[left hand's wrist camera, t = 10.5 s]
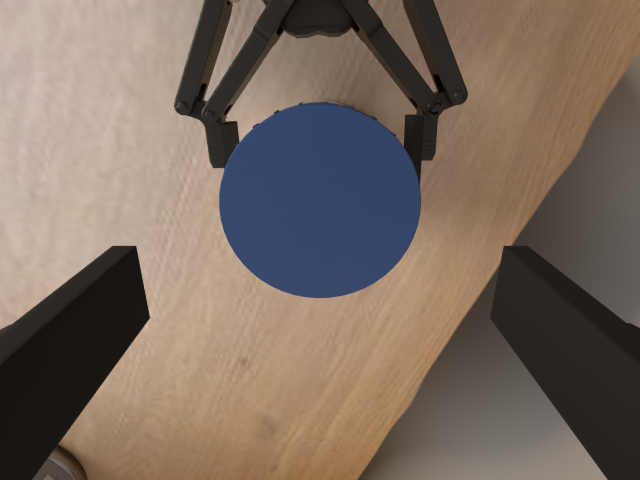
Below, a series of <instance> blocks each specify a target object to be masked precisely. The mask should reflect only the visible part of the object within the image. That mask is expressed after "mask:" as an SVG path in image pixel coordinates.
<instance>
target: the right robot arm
mask: <svg viewBox="0 0 640 480" xmlns="http://www.w3.org/2000/svg"><path fill="white" fill-rule="evenodd" d="M239 1H240V0H205V1H204V4H203V7H202V11H201V14H200V18H199V21H198V24H197V28H196V31H195V34H194V38H193V41H192V45H191V48H190V51H189V55H188V58H187V62H186V65H185V68H184V72H183V75H182V78H181V82H180V85H179V89H178V92H177V95H176V99H175V102H174V107H175V110H176V111H177V113H179V114H180V115H187V116H190V117H193V118H196V119H199V120H200V121H201V122H202V123H203V124H204V126H205V130H206V137H207V144H208V151H209V158H210V163H211V164H212V166H213V168H224V170H225V166H226V165H227V163H228V161H229V158H230V156H231V155H232V153H233V152H234V150H235V148H236V145H237V144H238V143H239V135H238V126H237V121H229V122H226V120H225V119H226V118H227V117H226V116H227V114H228V113H229V111H230V110H231V108H232V107H233V105H234V104H235V102H236V101H237V99H238V98H239V96H240V95H241V93H242V92H243V90H244V89H245V87H246V86H247V84H248V83H249V81H250V80H251V78H252V77H253V75H254V74H255V72H256V71H257V69H258V68H259V66H260V65H261V63H262V61H263V60H264V58H265V57H266V55H267V54H268V52H269V51H270V49H271V48H272V47H273V46H274V45H275V43H276V42H277V41H278V39H279V38H280V36H281V35H282V33H283V32H284V31H285V32H287V33H288V34H289V35H291V36H294V37H296V38H308V37H311V36H314V35H317V34H320V35H324V36H328V37H340V36H341V35H342V34H345V33H346V32H348V31H349V30H350V29H351V28H352V29H353V30H354V32H355V33H356V34H357V35H358V37H359V38H360V39H361V40H362V41H363V42H364V43H365V44H366V45H367V47H368V48H369V49H370V50H371V52H372V53H373V54H374V56H375V57H376V58H377V60H378V61H379V62H380V63H381V65H382V66H383V67H384V69H385V70H386V71H387V72H388V74H389V75H390V76H391V78H392V79H393V80H394V81H395V83H396V84H397V85H398V87H399V88H400V89H401V90H402V92H403V93H404V94H405V96H406V97H407V98H408V99H409V101H410V102H411V103H412V105H413V106H414V107H415V108H416V110H417V115H405V133H404V148H405V150H406V151H407V153H408V154H409V155H410V159H411V160H412V162H413V165H414V168H415V170H416V173H417V176H418V181H419V186H420V175H421V161H422V160H432V159H433V157H434V155H435V149H436V136H437V123H438V117H439V115H440V114H441V113H442V112H443V110H445V109H447V108H450V107H452V106H455V105H460V104H462V103H464V102H465V101H466V99H467V96H468V93H467V89H466V86H465V84H464V81H463V79H462V76H461V73H460V71H459V68H458V65H457V63H456V60H455V57H454V55H453V52H452V49H451V47H450V44H449V41H448V39H447V36H446V33H445V31H444V28H443V25H442V23H441V20H440V17H439V15H438V12H437V9H436V7H435V4H434V1H433V0H403V5H404V8H405V11H406V14H407V16H408V19H409V21H410V24H411V26H412V29H413V31H414V34H415V36H416V39H417V41H418V44H419V46H420V49H421V51H422V54H423V56H424V59H425V61H426V64H427V66H428V69H429V71H430V74H431V76H432V79H433V81H434V84H435V86H436V88H437V92H434V93H433V91H432V90H431V89H430V87H429V86H428V85H427V83H426V82H425V81H424V79H423V78H422V77H421V75H420V74H419V73H418V71H417V70H416V69H415V67H414V66H413V65H412V63H411V62H410V61H409V59H408V58H407V57H406V55H405V54H404V53H403V51H402V50H401V49H400V47H399V46H398V45H397V43H396V42H395V41H394V39H393V38H392V37H391V35H390V34H389V33H388V31H387V30H386V29H385V27H384V26H383V24H382V21H381V20H380V18H379V17H378V15H377V14H376V13H375V11H374V10H373V9H372V7H371V6H370V5H369V3H368V1H369V0H262V1H263V2H264V3H265V5H266V8H265V10H264V11H263V13H262V14H261V16H260V17H259V19H258V21H257V22H256V24H255V26H254V29H253V31H252V33H251V34H250V36H249V38H248V39H247V41H246V42H245V44H244V45H243V47H242V49H241V50H240V52H239V53H238V55H237V56H236V58H235V60H234V61H233V63H232V64H231V66H230V67H229V69H228V70H227V72H226V74H225V75H224V77H223V78H222V80H221V81H220V83H219V85H218V86H217V88H216V89H215V91H214V92H213V94H212V96H211V97H210V99H209V100H208V101H205V100H204V97H205V94H206V91H207V88H208V85H209V82H210V79H211V75H212V72H213V69H214V66H215V63H216V60H217V57H218V54H219V51H220V47H221V44H222V41H223V38H224V35H225V32H226V29H227V26H228V23H229V19H230V16H231V11H232V3H237V2H239Z"/></svg>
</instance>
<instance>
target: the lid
mask: <svg viewBox="0 0 640 480" xmlns="http://www.w3.org/2000/svg"><path fill="white" fill-rule="evenodd" d="M376 120H377V119H376V118H375V117H373V116H371V117H370V116H368V115H366V114H364V113H363V112H361V111H358V110H356V109H353V107H352V106H350V105H349V107H348V106H344V105H340V104H335V103H328V102H327V101H325V102H319V103H306V104H302V102H301V103H300V104H299V105H296V106H293V107H290V108H287V109H284V110H282V111H280V112H279V110H278V111H276V112H274V115H272V116H270V117H269V118H267V119H266V120H264V121H263V122H261V123H260V124H259V123H258V124H256V125H254V126H253V129H252V130H251V131H250V132H249V133H248V134H247V135H246V136H245V137H244V138H243V139H242V140H241V142H240V143H238V144H237V145H236V148H235V150H234V152H233V153H232V155H231V156H230V158H229V161H228V163H227V165H226V166H225V170H224V173H223V177H222V180H221V186H220V193H219V209H220V216H221V222H222V225H223V229H224V232H225V235H226V237H227V239H228V242H229V244H230V246H231V247H232V249H233V251H234V252H235V254H236V255H237V257H238V258H239V259H240V260H241V262H242V263H243V264H244V265H245V266H246V267H247V268H248V269H249V270H250V271H251V272H252V273H253V274H254V275H256V276H257V277H258V278H259V279H261V280H262V281H264V282H266V283H267V284H269V285H270V286H272V287H275V288H277V289H279V290H281V291H284V292H287V293H290V294H293V295H298V296H303V297H311V298H330V297H337V296H343V295H346V294H350V293H354V292H356V291H359V290H361V289H364V288H366V287H367V286H369V285H371V284H373V283H375V282H376V281H378V280H379V279H380V278H382V277H383V276H385V275H386V274H387V273H388V272H389V271H390V270H391V269H392V268H393V267H394V266H395V265H396V264H397V263H398V262H399V261H400V259H401V258H402V257H403V255H404V254H405V252H406V251H407V249H408V248H409V246H410V244H411V242H412V239H413V237H414V235H415V232H416V229H417V226H418V221H419V216H420V207H421V195H420V186H419V181H418V176H417V173H416V170H415V168H414V165H413V162H412V160H411V159H410V155H409V154H408V153H407V151H406V150H405V148H404V147H403V146H402V144H401V143H400V141H399V140H398V139H397V138H396V135H395V134H394V133H392V132H391V131H389V130H388V129H387V128H385V127H384V126H383V125H382V124H380V123H379V122H378V121H376Z"/></svg>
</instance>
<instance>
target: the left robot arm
mask: <svg viewBox="0 0 640 480" xmlns="http://www.w3.org/2000/svg"><path fill="white" fill-rule="evenodd" d="M149 319H150V316H149V310H148V305H147V300H146V295H145V290H144V284H143V279H142V274H141V269H140V264H139V259H138V253H137V248H136V246H112V247H111V248H109V249H108V250H107V251H105V252H104V253H103V254H102V255H100V256H99V257H98V258H97V259H95V260H94V261H93V262H91V263H90V264H89V265H88V266H86V267H85V268H84V269H82V270H81V271H80V272H79V273H77V274H76V275H75V276H73V277H72V278H71V279H70V280H68V281H67V282H66V283H64V284H63V285H62V286H61V287H59V288H58V289H57V290H55V291H54V292H53V293H52V294H50V295H49V296H48V297H46V298H45V299H44V300H43V301H41V302H40V303H39V304H37V305H36V306H35V307H34V308H32V309H31V310H30V311H28V312H27V313H26V314H25V315H23V316H22V317H21V318H20V319H18V320H17V321H16V322H14V323H13V324H12V325H9V326H7V327H5V328H3V329H1V330H0V480H86V477H85V474H84V472H83V470H82V468H81V467H80V466H79V464H78V463H77V462H76V461H75V460H74V459H73V458H72V457H71V456H70V455H69V454H68V453H66V452H65V451H63V450H62V449H60V448H59V447H57V445H58V444H59V442H60V441H61V440H62V438H63V437H64V435H65V434H66V433H67V431H68V430H69V429H70V427H71V426H72V424H73V423H74V422H75V420H76V419H77V418H78V416H79V415H80V413H81V412H82V411H83V409H84V408H85V407H86V405H87V404H88V402H89V401H90V400H91V398H92V397H93V396H94V394H95V393H96V391H97V390H98V389H99V387H100V386H101V385H102V383H103V382H104V380H105V379H106V378H107V376H108V375H109V374H110V372H111V371H112V369H113V368H114V367H115V365H116V364H117V363H118V361H119V360H120V358H121V357H122V356H123V354H124V353H125V352H126V350H127V349H128V347H129V346H130V345H131V343H132V342H133V341H134V339H135V338H136V336H137V335H138V334H139V332H140V331H141V330H142V328H143V327H144V325H145V324H146V323H147V321H148V320H149ZM490 319H491V320H492V321H493V323H494V324H495V325H496V327H497V328H498V330H499V331H500V332H501V334H502V335H503V336H504V338H505V339H506V341H507V342H508V343H509V345H510V346H511V347H512V349H513V350H514V352H515V353H516V354H517V356H518V357H519V358H520V360H521V361H522V363H523V364H524V365H525V367H526V368H527V369H528V371H529V372H530V374H531V375H532V376H533V378H534V379H535V380H536V382H537V383H538V384H539V386H540V387H541V389H542V390H543V391H544V393H545V394H546V396H547V397H548V398H549V400H550V401H551V402H552V404H553V405H554V406H555V408H556V409H557V411H558V412H559V413H560V415H561V416H562V418H563V419H564V420H565V422H566V423H567V424H568V426H569V427H570V429H571V430H572V431H573V433H574V434H575V435H576V437H577V438H578V440H579V441H580V442H581V444H582V445H583V446H584V448H585V449H586V451H587V452H588V453H589V455H590V456H591V457H592V459H593V460H594V462H595V463H596V464H597V466H598V467H599V468H600V470H601V471H602V472H603V474H604V475H605V477H606V478H607V479H608V480H640V328H639V327H636V326H635V325H633V324H630V323H626V322H624V321H623V320H622V319H620V318H619V317H618V316H617V315H615V314H614V313H613V312H612V311H610V310H609V309H608V308H606V307H605V306H604V305H603V304H601V303H600V302H599V301H597V300H596V299H595V298H594V297H592V296H591V295H590V294H588V293H587V292H586V291H585V290H583V289H582V288H581V287H579V286H578V285H577V284H576V283H574V282H573V281H572V280H570V279H569V278H568V277H567V276H565V275H564V274H563V273H561V272H560V271H559V270H558V269H556V268H555V267H554V266H552V265H551V264H550V263H549V262H547V261H546V260H545V259H543V258H542V257H541V256H539V255H538V254H537V253H536V252H534V251H533V250H532V249H531V248H529V247H528V246H504V248H503V253H502V259H501V264H500V269H499V274H498V279H497V284H496V290H495V295H494V300H493V305H492V310H491V316H490Z"/></svg>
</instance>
